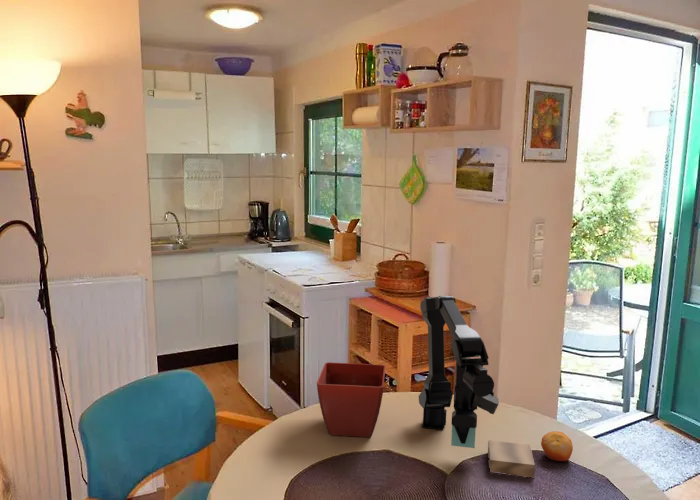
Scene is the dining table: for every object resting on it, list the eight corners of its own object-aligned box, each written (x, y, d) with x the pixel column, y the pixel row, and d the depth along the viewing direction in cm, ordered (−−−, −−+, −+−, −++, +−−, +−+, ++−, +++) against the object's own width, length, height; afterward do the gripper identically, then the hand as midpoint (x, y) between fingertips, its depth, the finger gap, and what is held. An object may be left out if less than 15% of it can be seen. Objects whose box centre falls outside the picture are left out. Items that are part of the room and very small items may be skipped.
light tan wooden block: (489, 474, 144) (490, 459, 144) (487, 453, 155) (488, 440, 154) (534, 479, 142) (535, 465, 142) (529, 458, 153) (530, 444, 152)
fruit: (571, 445, 157) (573, 428, 152) (571, 471, 151) (573, 454, 146) (540, 440, 159) (542, 424, 154) (539, 465, 153) (541, 449, 149)
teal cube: (451, 445, 147) (452, 423, 146) (452, 435, 153) (453, 414, 152) (474, 448, 146) (475, 426, 145) (474, 437, 152) (475, 416, 151)
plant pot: (324, 411, 179) (325, 361, 177) (384, 415, 177) (385, 364, 175) (315, 439, 160) (316, 383, 158) (381, 444, 158) (383, 387, 156)
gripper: (499, 398, 136) (495, 458, 138) (496, 372, 154) (493, 426, 156) (452, 394, 139) (450, 453, 141) (455, 368, 157) (452, 421, 159)
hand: (463, 437), depth 149 cm, fingers closed on teal cube, 6 cm apart
